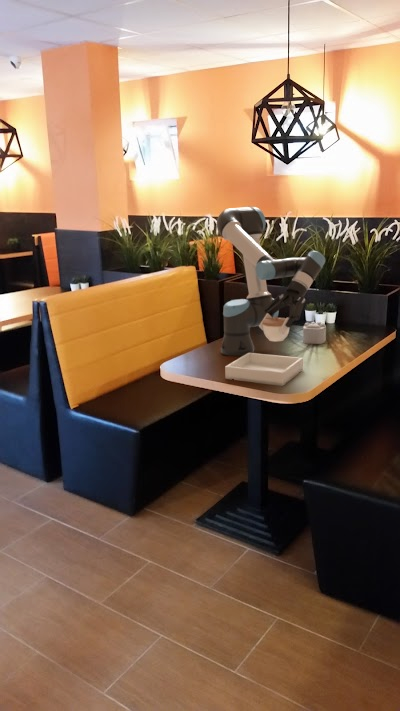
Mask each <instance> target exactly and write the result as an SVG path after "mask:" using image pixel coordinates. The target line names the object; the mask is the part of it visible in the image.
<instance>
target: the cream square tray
mask: <svg viewBox="0 0 400 711" xmlns="http://www.w3.org/2000/svg"><path fill="white" fill-rule="evenodd" d="M303 370H304V358H303V357H298V356H297V357H296V356H287V355H286V356H285V355H278V354H277V355H276V354H268V353H267V354H266V353H258V352H257V353H256V352H253V353H247V354H245V355H243V356H240V357H239V358H237V359H236V360H234V361H232V362H230V363H229V364H227V365H225V366H224V371H225V375H224V376H225V379H226V380H232V379H234V380H233V381H241V382H247V383H248V382H249V383H250V382H251V383H254V384H255V383H256V384H264V385H272V386H273V385H274V386H279V387H281V386H282V387H283V386H285V385H286V384H287V383H289V381H291V380H292V379H294V378H295V377H296V376H297V375H298V374H300V373H301V372H302V371H303ZM299 372H300V373H299Z"/></svg>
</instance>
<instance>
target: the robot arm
mask: <svg viewBox="0 0 400 711" xmlns="http://www.w3.org/2000/svg"><path fill="white" fill-rule="evenodd" d="M216 219H217V220H216V229H217V231H218V234H219V235H220V237H222V238H223V239H224V240H225V241H229V242H230V243H231V244H232V246H234V247H235V248H236V249H237V250H238V251H239V252H240V253H241V254H242V257H243V265H244V271H245V278H246V283H247V289H248V295H247V296H246V299H245V298H240V299H239V298H238V299H231V300H230V301H227V302H226V303H225V304H224V305H223V312H222V315H223V332H224V333H223V340H222V343H221V346H220V353H221V354H222V355H224V356H233V357H239V356H240V357H242V356H244V355H245V354H247V353H255V346H254V343H253V340H252V338H251V337H252V336H251V334H250V333H251V330H250V329H251V328H254V327H259V329H261V331H263V323H262V321H263V320H264V319H268V318H275V316H277V318H279V312H280V311H279V310H281V309H282V308H284V307H285V308H286V307H287V306H289V315H288V317H286V320H285V321H284V323H283V324H282V326H281V328H280V329H279V332H280V333H281V334H282V335H284V334H285V332H286V330H287V329H288V328H289V327H290V328H291V325H292V324H293V322H295V321H296V322H297V321H298V322H299V320H300V319H301V314H302V311H303V309H304V305H305V304H306V302H307V300H306V299H305V295H306V293H307V291H308V290H310V287H311V285H312V284H313V282H314V281H315V280H316V279H317V277H318V275H319V273H320V272H321V270H322V269H323V268H324V265H325V263H326V257H325V255H323V253H321V252H320V251H318V250H317V251H316V250H310V251H309V252H308V254H307V256H302V257H295V256H290V257H286V258H280V259H274V258H273V257H272V256H271V255H270V254H269V253H268V252H267V251H266V250H265V248H263V247H262V246H261V239H260V238H261V237H262V236H263V231H264V230H265V228H266V224H267V223H266V216H265V214H264V212H263V211H262V210H261V209H260V208H258V207H256V206H245V207H244V206H243V207H230V208H226V209H224V210H223V211H221V213H219V215H218V216H217V218H216ZM288 277H292V279H291V281H290V282H289V284H288V285H287V287H286V291H285V293H284V294H283V293H282V292H278V293H277V295H276V297H275V298H273V297H272V293H270V292H269V291H268V285H267V281H268V280H273V279H281V278H288ZM290 328H289V329H290Z"/></svg>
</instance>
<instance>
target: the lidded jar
mask: <svg viewBox="0 0 400 711" xmlns="http://www.w3.org/2000/svg"><path fill="white" fill-rule="evenodd" d="M286 318H287V317H286ZM286 318H285V317H277V316H275V318H268V319H264V320H263V321H262V323H263V330H262V331H263V334H264V336H265V337H266V338H267V339H268V341H269V342H275V343H276V342H283V341H285V339H286V338H287V337H288V335H289V333H290V329H291V326H290V327H289V328H288V329H287V330H286V332H285V334H284V335H282V334H281V333H280V332H279V329H280V328H281V326H282V324H283V323H284V321H285V320H286Z"/></svg>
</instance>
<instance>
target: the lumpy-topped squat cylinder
mask: <svg viewBox="0 0 400 711" xmlns="http://www.w3.org/2000/svg"><path fill="white" fill-rule="evenodd" d="M326 341H327V326H326V324H325V323H322V322H321V321H317V322H316V321H311V322H305V323H304V325H303V327H302V343H303V344H314V345H315V344H317V345H321V344H325V342H326Z"/></svg>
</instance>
